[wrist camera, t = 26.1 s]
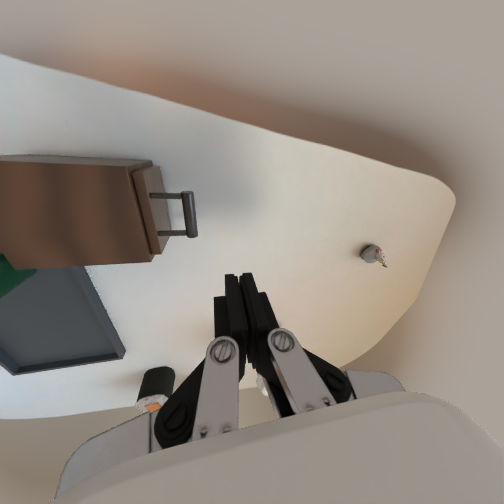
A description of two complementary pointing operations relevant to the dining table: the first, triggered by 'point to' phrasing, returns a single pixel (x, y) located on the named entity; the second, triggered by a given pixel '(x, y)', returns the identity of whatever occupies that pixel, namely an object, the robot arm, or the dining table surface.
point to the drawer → (161, 208)
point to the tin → (12, 276)
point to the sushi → (155, 389)
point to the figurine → (373, 255)
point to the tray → (55, 323)
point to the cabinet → (70, 212)
